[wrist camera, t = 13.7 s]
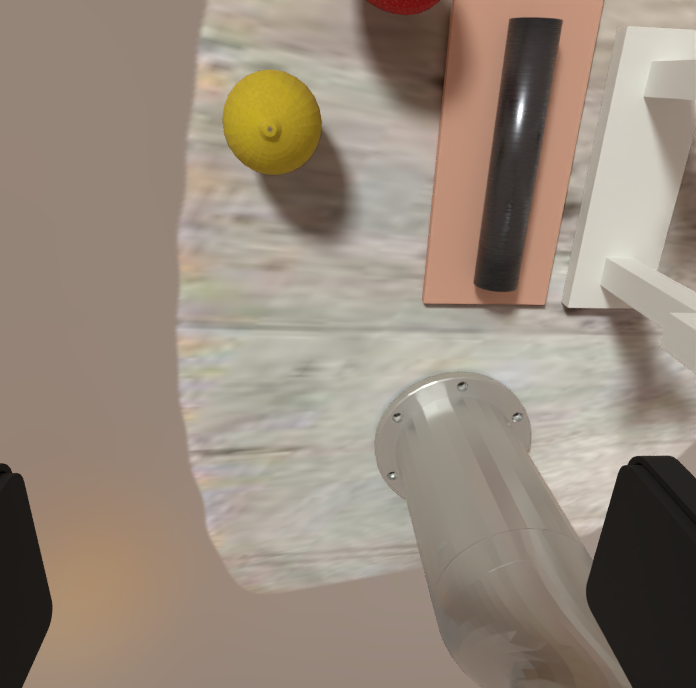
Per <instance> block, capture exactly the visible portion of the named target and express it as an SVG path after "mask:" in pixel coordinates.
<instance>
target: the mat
mask: <svg viewBox="0 0 696 688" xmlns="http://www.w3.org/2000/svg"><path fill="white" fill-rule="evenodd" d="M603 1H604V0H452V5H451V15H450V25H449V35H448V45H447V55H446V66H445V76H444V86H443V96H442V106H441V116H440V126H439V136H438V146H437V156H436V166H435V176H434V186H433V196H432V206H431V216H430V226H429V236H428V246H427V256H426V266H425V276H424V286H423V296H422V301H423V303H442V304H529V305H545V301H546V296H547V291H548V286H549V281H550V275H551V270H552V265H553V260H554V255H555V250H556V244H557V239H558V234H559V229H560V224H561V218H562V213H563V208H564V203H565V198H566V193H567V187H568V182H569V177H570V172H571V167H572V161H573V156H574V151H575V146H576V141H577V136H578V130H579V125H580V120H581V115H582V110H583V104H584V99H585V94H586V89H587V84H588V79H589V73H590V68H591V63H592V58H593V53H594V47H595V42H596V37H597V32H598V27H599V22H600V16H601V11H602V6H603ZM521 17H540V18H555V19H561V20H563V24H562V30H561V36H560V42H559V48H558V54H557V60H556V65H555V71H554V77H553V83H552V89H551V95H550V101H549V107H548V113H547V118H546V124H545V130H544V136H543V142H542V148H541V154H540V160H539V165H538V171H537V177H536V183H535V189H534V195H533V201H532V207H531V213H530V218H529V224H528V230H527V236H526V242H525V248H524V254H523V260H522V265H521V271H520V277H519V283H518V288H517V289H516V290H514V291H510V292H495V291H489V290H484V289H481V288H479V287H477V286H475V285H474V284H473V281H474V273H475V266H476V259H477V251H478V244H479V237H480V229H481V222H482V215H483V207H484V200H485V193H486V185H487V178H488V171H489V163H490V156H491V148H492V141H493V134H494V126H495V119H496V112H497V104H498V97H499V90H500V82H501V75H502V68H503V60H504V53H505V46H506V38H507V31H508V24H509V19H511V18H521Z"/></svg>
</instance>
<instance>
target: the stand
mask: <svg viewBox="0 0 696 688" xmlns="http://www.w3.org/2000/svg"><path fill="white" fill-rule="evenodd" d="M695 129H696V30H688V29H669V28H651V27H633V26H625V27H618V28H617V33H616V38H615V43H614V47H613V52H612V57H611V62H610V67H609V72H608V77H607V82H606V87H605V91H604V96H603V101H602V106H601V111H600V116H599V121H598V126H597V130H596V135H595V140H594V145H593V150H592V155H591V160H590V165H589V169H588V174H587V179H586V184H585V189H584V194H583V199H582V204H581V208H580V213H579V218H578V223H577V228H576V233H575V238H574V243H573V247H572V252H571V257H570V262H569V267H568V272H567V277H566V282H565V287H564V291H563V296H562V301H561V302H562V303H563V304H564V305H565V306H566V307H568V308H625V309H635V310H637V311H638V312H640V313H641V314H643V315H644V316H645V317H647V318H648V319H650V320H651V321H653V322H654V323H655V324H657V325H658V326H660V327H661V328H662V329H664V331H663V335H662V338H661V342H660V345H659V347H660V348H662V349H663V350H664V351H666V352H667V353H668V354H670V355H671V356H672V357H674V358H675V359H676V360H678V361H679V362H680V363H682V364H683V365H684V366H686V367H687V368H688V369H690V370H691V371H692V372H693V373H695V374H696V292H694V291H692V290H691V289H689V288H687V287H685V286H683V285H681V284H680V283H678V282H676V281H674V280H672V279H671V278H669V277H667V276H665V275H663V274H662V273H660V272H658V271H657V270H658V266H659V262H660V258H661V255H662V251H663V247H664V244H665V240H666V236H667V233H668V229H669V225H670V222H671V218H672V214H673V211H674V207H675V203H676V199H677V196H678V192H679V188H680V185H681V181H682V177H683V174H684V170H685V166H686V163H687V159H688V155H689V151H690V148H691V144H692V140H693V137H694V133H695Z"/></svg>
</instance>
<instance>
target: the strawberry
mask: <svg viewBox="0 0 696 688" xmlns="http://www.w3.org/2000/svg"><path fill="white" fill-rule="evenodd" d="M367 1H368V2H369V3H371V4H372V5H374V6H376V7H378V8H379V9H381V10H384V11H387V12H390V13H393V14H400V15H411V14H418V13H421V12H423V11H426V10H428V9H430V8H431V7H433V6H434V5H435V4H437V3H438V2H439V1H440V0H367Z"/></svg>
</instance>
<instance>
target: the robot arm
mask: <svg viewBox="0 0 696 688" xmlns="http://www.w3.org/2000/svg"><path fill="white" fill-rule="evenodd" d="M460 382H461V383H460ZM396 413H398V414H396ZM530 440H531V428H530V421H529V418H528V416H527V413H526V411H525V409H524V407H523V406H522V404H521V402H520V401H519V399H518V398H517V397H516V396H515V395H514V394H513V392H512V391H511V390H510V389H509V388H507V387H506V386H504V385H503V384H502V383H500V382H499V381H497V380H494V379H492V378H490V377H488V376H484V375H480V374H476V373H468V372H453V373H445V374H440V375H436V376H433V377H430V378H426V379H424V380H422V381H420V382H418V383H416V384H414V385H412V386H411V387H410V388H408V389H407V390H405V391H404V392H403V393H401V394H400V395H399V396H398V397H397V398H396V399H395V400H394V401H393V402H392V403H391V404H390V405H389V407H388V408H387V410H386V411H385V413H384V414H383V416H382V418H381V420H380V422H379V425H378V427H377V431H376V436H375V456H376V460H377V466H378V468H379V470H380V473H381V475H382V477H383V479H384V480H385V482H386V483H387V484H388V486H389V487H390V488H391V489H392V490H393V491H394V492H396V493H397V494H398V495H399V496H401V497H403V498H404V499H406V501H407V505H408V509H409V513H410V517H411V521H412V525H413V529H414V533H415V537H416V541H417V545H418V549H419V553H420V557H421V561H422V565H423V569H424V573H425V577H426V580H427V584H428V588H429V592H430V596H431V600H432V604H433V608H434V611H435V615H436V620H437V623H438V627H439V631H440V634H441V636H442V639H443V641H444V644H445V646H446V647H447V649H448V651H449V653H450V655H451V656H452V658H453V659H454V660H455V661H456V663H457V664H458V665H459V667H460V668H461V669H462V671H463V672H464V673H465V674H466V675H468V676H469V677H470V678H471V679H472V680H473V681H474V682H475V683H476V684H477V685H478V686H480V687H481V688H696V478H695V477H694V476H693V475H692V474H691V473H690V472H689V471H688V470H687V469H686V468H685V467H684V466H683V465H682V464H681V463H680V462H679V461H678V460H677V459H675V458H674V457H672V456H636V457H633V458H632V459H631V460H630V461H629V463H628V465H625V466H622V467H621V468H620V470H619V473H618V476H617V479H616V483H615V486H614V490H613V493H612V497H611V500H610V504H609V507H608V511H607V514H606V518H605V521H604V525H603V528H602V532H601V535H600V539H599V543H598V546H597V549H596V553H595V556H594V560H592V558H591V557H590V555H589V553H588V552H587V550H586V549H585V547H584V545H583V543H582V542H581V540H580V538H579V537H578V535H577V533H576V532H575V530H574V528H573V527H572V525H571V523H570V522H569V520H568V518H567V517H566V515H565V513H564V512H563V510H562V509H561V507H560V505H559V504H558V502H557V500H556V499H555V497H554V495H553V494H552V492H551V490H550V489H549V487H548V485H547V484H546V482H545V480H544V479H543V477H542V476H541V474H540V472H539V471H538V469H537V467H536V466H535V464H534V462H533V461H532V459H531V457H530V456H529V454H528V450H529V447H530ZM51 618H52V600H51V595H50V591H49V587H48V583H47V578H46V574H45V569H44V565H43V561H42V556H41V552H40V548H39V544H38V539H37V535H36V531H35V527H34V522H33V518H32V513H31V509H30V505H29V501H28V496H27V492H26V488H25V483H24V480H23V477H22V476H21V475H20V474H18V473H12V471H11V469H10V467H9V466H8V465H6V464H2V463H0V688H22V686H23V684H24V682H25V680H26V678H27V675H28V673H29V671H30V668H31V666H32V664H33V662H34V660H35V658H36V655H37V653H38V651H39V649H40V646H41V644H42V642H43V640H44V637H45V635H46V633H47V631H48V628H49V626H50V622H51Z"/></svg>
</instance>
